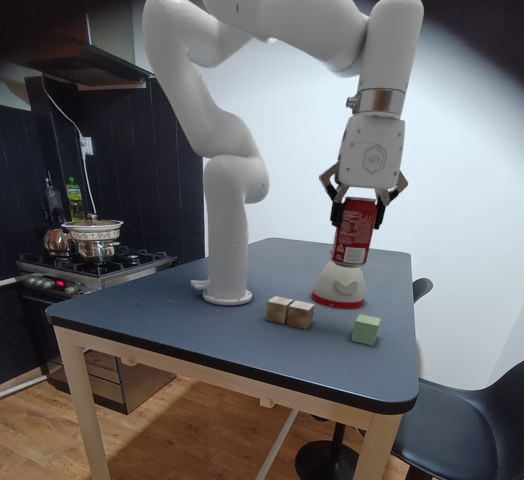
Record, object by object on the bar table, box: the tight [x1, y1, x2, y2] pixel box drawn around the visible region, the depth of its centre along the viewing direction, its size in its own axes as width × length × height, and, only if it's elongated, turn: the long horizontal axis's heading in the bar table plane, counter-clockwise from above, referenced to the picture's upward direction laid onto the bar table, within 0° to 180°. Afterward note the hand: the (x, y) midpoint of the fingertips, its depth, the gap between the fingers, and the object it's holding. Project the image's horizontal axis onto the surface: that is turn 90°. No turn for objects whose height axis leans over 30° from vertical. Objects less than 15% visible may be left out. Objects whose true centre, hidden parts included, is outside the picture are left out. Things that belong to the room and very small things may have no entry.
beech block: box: [286, 299, 316, 330], centre depth 69 cm, size 4×4×4 cm
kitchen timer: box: [311, 250, 366, 310], centre depth 83 cm, size 14×14×15 cm
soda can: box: [330, 195, 378, 268], centre depth 60 cm, size 7×7×12 cm
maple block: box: [265, 295, 294, 325], centre depth 71 cm, size 4×4×4 cm
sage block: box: [350, 313, 382, 347], centre depth 64 cm, size 4×4×4 cm
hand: (354, 226), depth 59 cm, fingers closed on soda can, 6 cm apart
